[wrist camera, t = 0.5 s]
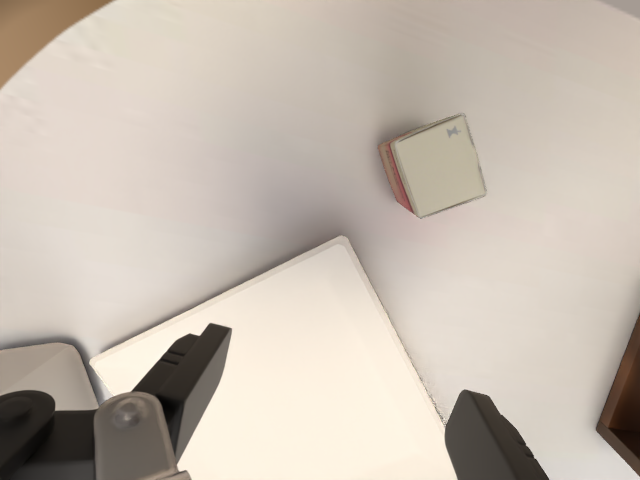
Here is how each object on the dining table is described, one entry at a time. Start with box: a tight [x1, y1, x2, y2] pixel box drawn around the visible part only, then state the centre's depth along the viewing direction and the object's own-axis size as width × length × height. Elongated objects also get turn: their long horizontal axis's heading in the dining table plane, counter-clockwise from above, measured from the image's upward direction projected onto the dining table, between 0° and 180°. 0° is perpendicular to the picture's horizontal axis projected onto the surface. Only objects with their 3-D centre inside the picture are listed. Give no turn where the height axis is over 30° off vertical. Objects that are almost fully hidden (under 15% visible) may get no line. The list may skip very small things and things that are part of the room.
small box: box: [378, 113, 487, 219], centre depth 23 cm, size 5×4×8 cm
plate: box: [89, 235, 458, 480], centre depth 32 cm, size 26×26×2 cm
